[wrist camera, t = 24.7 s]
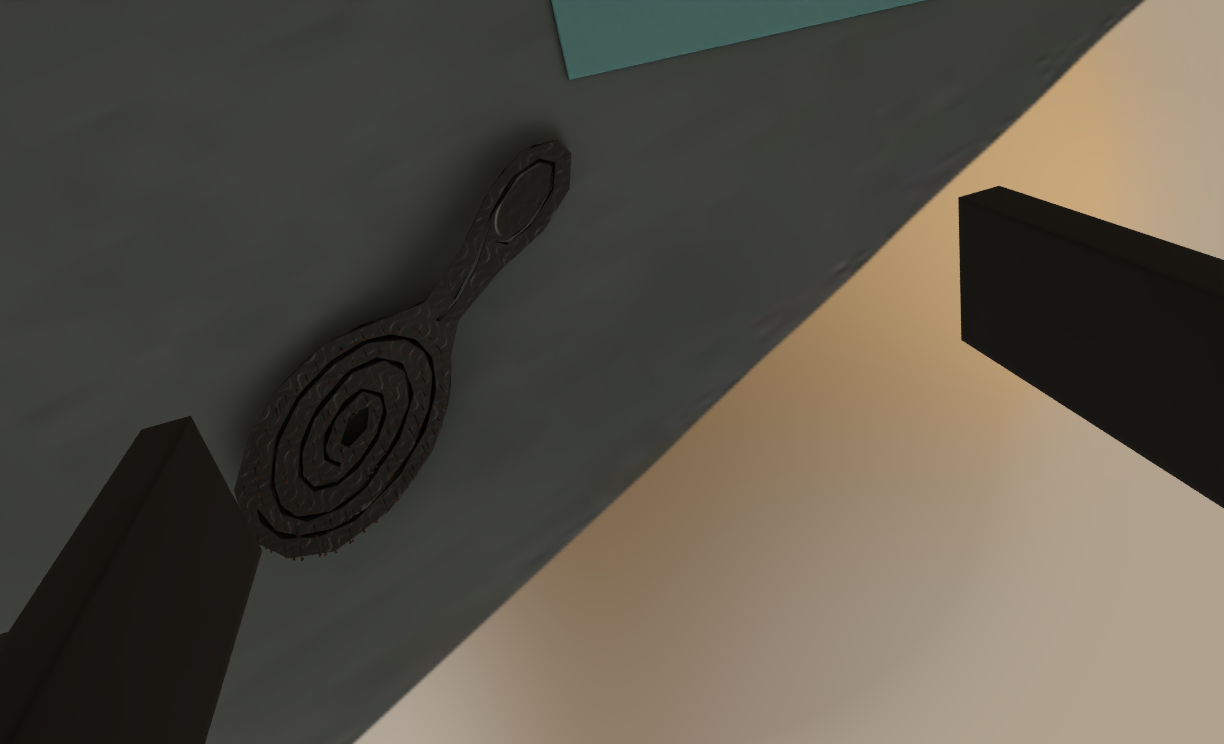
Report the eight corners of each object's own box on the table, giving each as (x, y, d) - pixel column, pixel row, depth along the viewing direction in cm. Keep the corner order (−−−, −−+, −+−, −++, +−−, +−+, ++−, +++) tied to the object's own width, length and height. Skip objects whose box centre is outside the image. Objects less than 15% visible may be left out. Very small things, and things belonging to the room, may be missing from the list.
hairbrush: (635, 197, 39) (333, 599, 41) (622, 198, 43) (344, 568, 44) (496, 84, 37) (183, 511, 39) (494, 95, 41) (208, 486, 42)
